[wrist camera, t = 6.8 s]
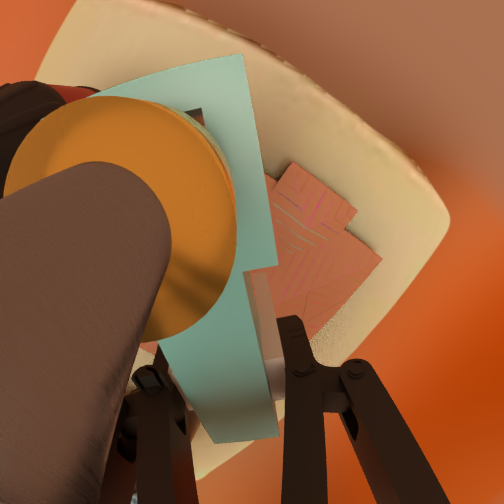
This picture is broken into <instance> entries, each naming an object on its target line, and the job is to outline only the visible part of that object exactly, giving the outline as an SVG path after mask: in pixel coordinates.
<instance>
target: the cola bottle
mask: <svg viewBox="0 0 504 504" xmlns="http://www.w3.org/2000/svg"><path fill="white" fill-rule="evenodd" d="M99 92H101V91H100V90H98V89H95V88H91V87H86V86H76V87H72V86H62V85H50V84H45V83H41V82H38V81H21V82H17V83H13V84H9V83H7V84H4V85H2V86H0V199H2V198H3V195H4V187H5V182H6V177H7V174H8V171H9V168H10V165H11V162H12V160H13V158H14V156H15V153H16V151H17V149H18V148H19V146H20V144H21V143H22V142H23V140H24V139H25V137H26V136H27V134H28V133H29V132H30V131H31V130H32V129H33V128H34V127H35V126H36V124H37V123H39V122H40V121H41V120H40V119H42V118H44V117H46V116H47V115H48V114H50V113H51V112H53V111H55V110H56V109H58V108H60V107H62V106H63V105H66V104H68V103H71V102H74V101H76V100H79V99H84V98H86V97H89V96H91V95H94V94H96V93H99Z"/></svg>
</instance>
